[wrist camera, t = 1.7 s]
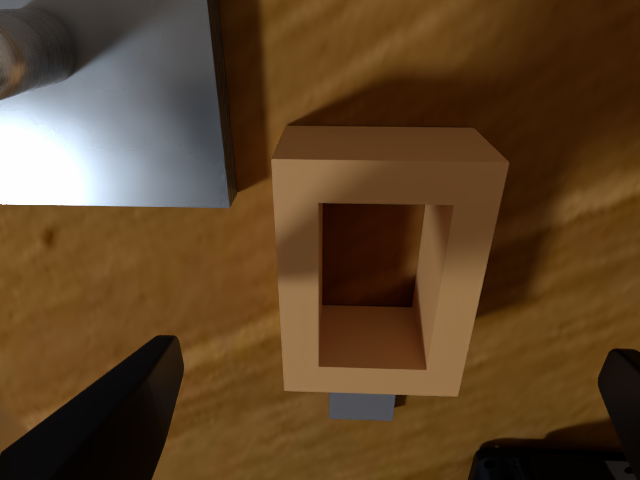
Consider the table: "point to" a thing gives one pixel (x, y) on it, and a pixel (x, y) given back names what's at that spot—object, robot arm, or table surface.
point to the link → (433, 264)
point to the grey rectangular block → (361, 406)
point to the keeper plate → (114, 104)
